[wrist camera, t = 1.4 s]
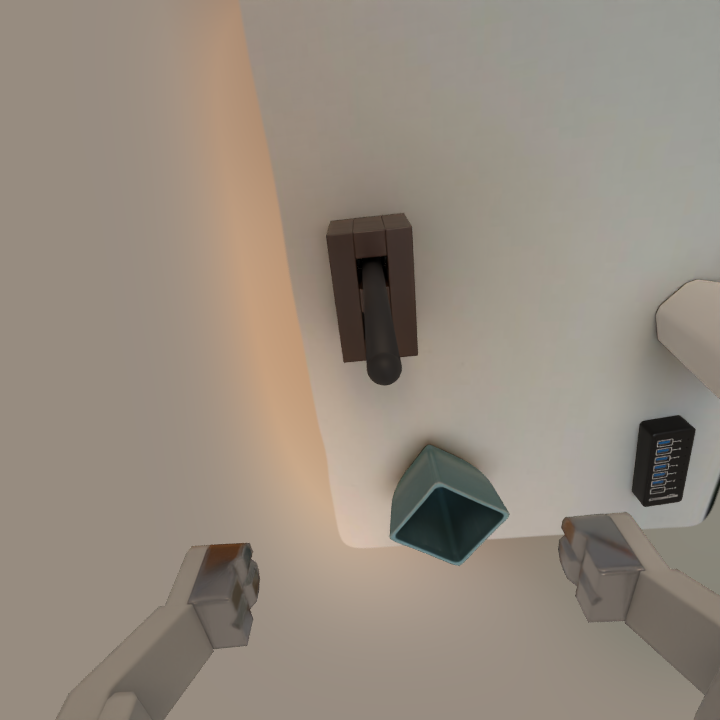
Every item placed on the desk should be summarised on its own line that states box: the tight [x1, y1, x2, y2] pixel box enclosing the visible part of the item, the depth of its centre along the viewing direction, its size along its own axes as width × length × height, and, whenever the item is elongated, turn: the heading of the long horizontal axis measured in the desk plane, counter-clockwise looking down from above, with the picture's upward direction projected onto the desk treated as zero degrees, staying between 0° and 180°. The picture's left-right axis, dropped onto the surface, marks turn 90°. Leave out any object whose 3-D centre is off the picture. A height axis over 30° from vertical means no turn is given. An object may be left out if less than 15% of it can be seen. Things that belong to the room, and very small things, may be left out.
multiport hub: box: [632, 416, 695, 507], centre depth 49 cm, size 4×11×2 cm, turn 12°
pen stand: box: [326, 213, 418, 363], centre depth 37 cm, size 6×11×6 cm, turn 6°
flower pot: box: [390, 445, 510, 566], centre depth 46 cm, size 9×9×9 cm
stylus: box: [362, 256, 402, 385], centre depth 29 cm, size 2×2×22 cm
